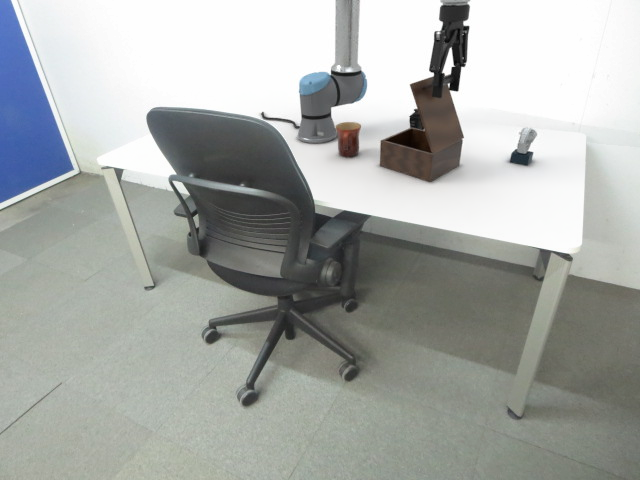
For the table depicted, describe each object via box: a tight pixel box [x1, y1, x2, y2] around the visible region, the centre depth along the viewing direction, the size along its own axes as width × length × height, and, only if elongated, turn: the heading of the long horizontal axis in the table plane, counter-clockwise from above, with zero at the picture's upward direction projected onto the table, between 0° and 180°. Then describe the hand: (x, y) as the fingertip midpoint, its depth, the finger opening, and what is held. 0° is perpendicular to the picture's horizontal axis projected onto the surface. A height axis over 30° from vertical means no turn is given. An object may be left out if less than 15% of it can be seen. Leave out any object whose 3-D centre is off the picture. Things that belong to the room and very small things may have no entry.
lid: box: [409, 72, 465, 154], centre depth 124 cm, size 21×17×6 cm
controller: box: [408, 108, 424, 130], centre depth 164 cm, size 4×12×10 cm, turn 145°
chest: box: [379, 127, 464, 183], centre depth 137 cm, size 20×17×9 cm
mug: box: [335, 121, 362, 158], centre depth 147 cm, size 12×9×10 cm
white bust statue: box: [509, 126, 538, 167], centre depth 136 cm, size 6×8×11 cm
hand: (445, 93), depth 122 cm, fingers closed on lid, 8 cm apart
